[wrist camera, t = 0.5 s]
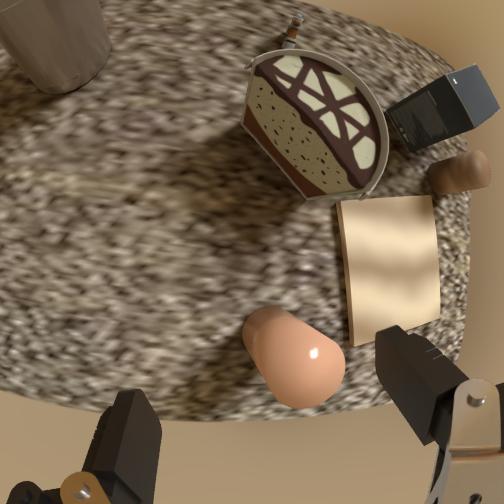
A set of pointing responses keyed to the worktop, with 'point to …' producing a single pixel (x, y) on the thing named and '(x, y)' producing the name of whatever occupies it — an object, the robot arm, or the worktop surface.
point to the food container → (316, 123)
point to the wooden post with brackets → (292, 32)
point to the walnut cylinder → (460, 173)
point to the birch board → (389, 264)
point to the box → (443, 108)
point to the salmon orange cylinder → (293, 357)
